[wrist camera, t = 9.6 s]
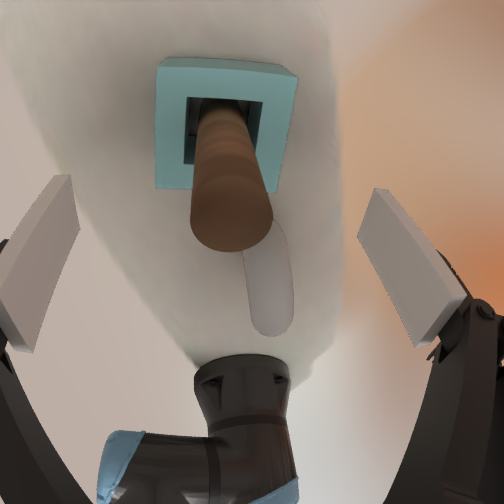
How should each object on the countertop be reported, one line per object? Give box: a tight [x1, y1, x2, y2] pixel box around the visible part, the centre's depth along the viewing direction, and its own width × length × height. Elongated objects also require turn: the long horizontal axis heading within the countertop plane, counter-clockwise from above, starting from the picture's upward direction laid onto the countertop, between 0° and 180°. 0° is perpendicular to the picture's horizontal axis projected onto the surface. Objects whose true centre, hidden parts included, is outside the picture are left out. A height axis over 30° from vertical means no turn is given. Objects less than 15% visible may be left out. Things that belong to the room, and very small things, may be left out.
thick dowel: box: [190, 98, 273, 252], centre depth 17 cm, size 3×3×14 cm
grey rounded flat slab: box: [243, 220, 294, 336], centre depth 27 cm, size 10×4×10 cm, turn 4°
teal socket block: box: [155, 57, 298, 193], centre depth 20 cm, size 8×8×5 cm
